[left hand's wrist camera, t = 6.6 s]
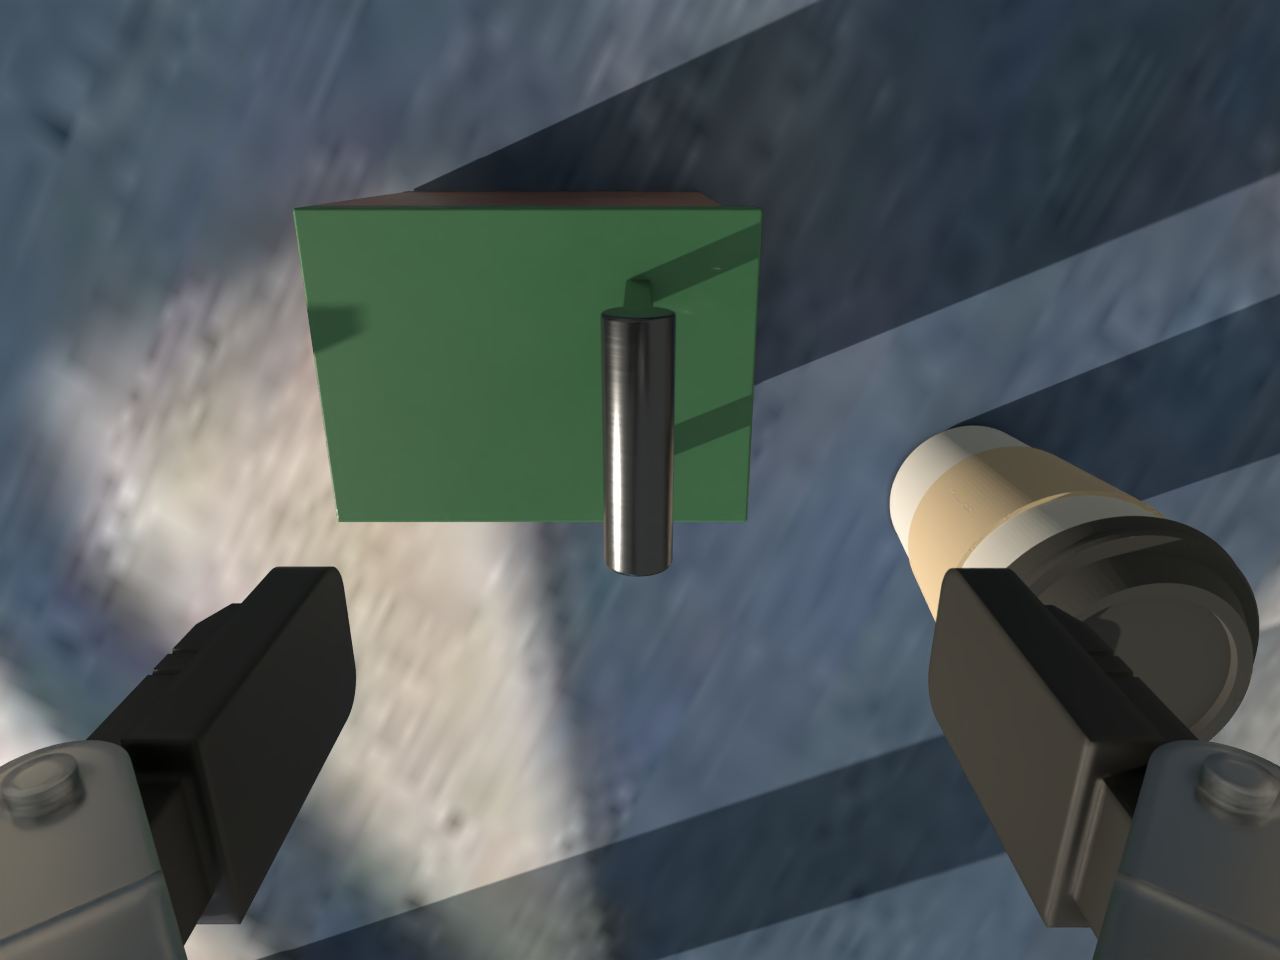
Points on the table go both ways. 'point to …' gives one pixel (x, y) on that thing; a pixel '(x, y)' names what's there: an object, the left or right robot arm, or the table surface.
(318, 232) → the lid
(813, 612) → the table surface
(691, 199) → the chest
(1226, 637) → the coffee cup
